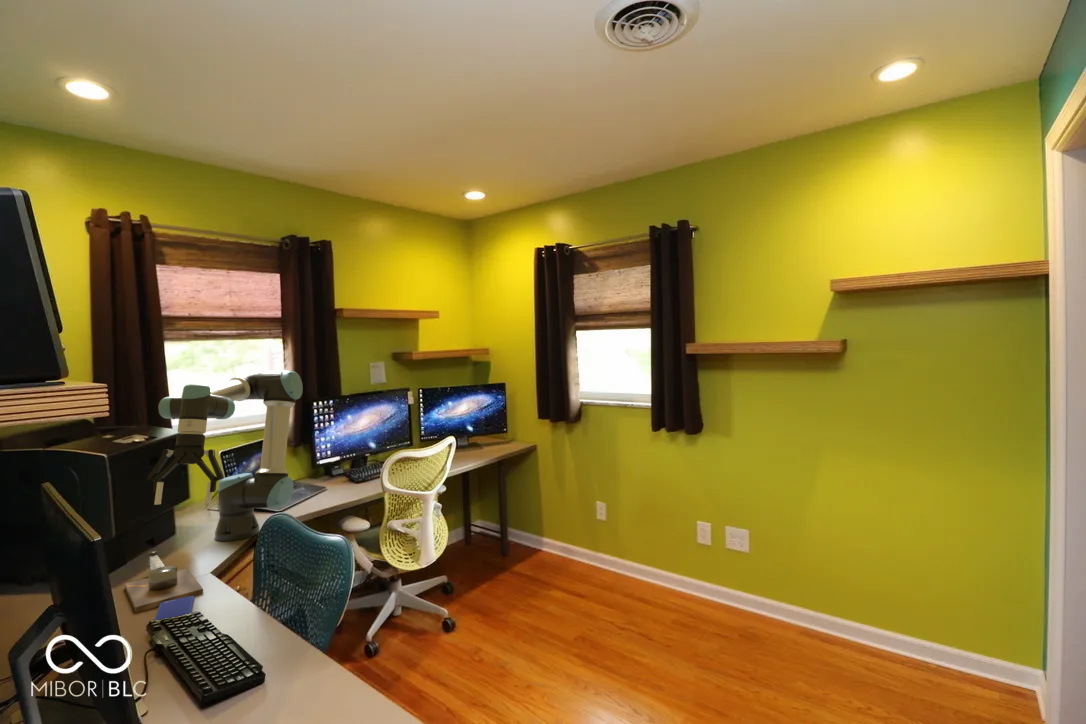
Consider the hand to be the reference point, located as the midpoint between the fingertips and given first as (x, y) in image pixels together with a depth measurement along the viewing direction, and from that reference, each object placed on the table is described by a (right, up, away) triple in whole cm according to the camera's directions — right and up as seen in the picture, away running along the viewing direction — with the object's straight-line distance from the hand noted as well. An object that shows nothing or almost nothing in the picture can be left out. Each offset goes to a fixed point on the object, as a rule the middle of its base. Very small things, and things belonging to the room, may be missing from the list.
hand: (183, 504), depth 167 cm
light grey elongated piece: (-9, -23, +2) cm, 25 cm away
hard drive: (+9, -26, -17) cm, 32 cm away
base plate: (-3, -25, -4) cm, 25 cm away
